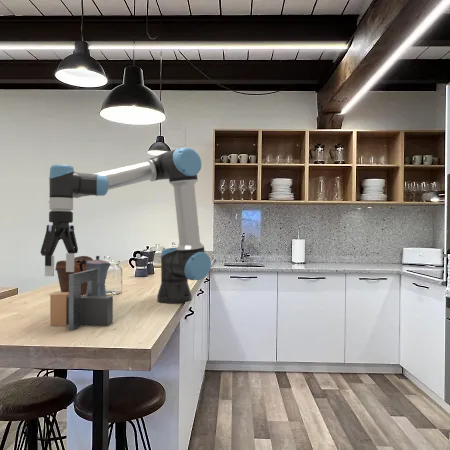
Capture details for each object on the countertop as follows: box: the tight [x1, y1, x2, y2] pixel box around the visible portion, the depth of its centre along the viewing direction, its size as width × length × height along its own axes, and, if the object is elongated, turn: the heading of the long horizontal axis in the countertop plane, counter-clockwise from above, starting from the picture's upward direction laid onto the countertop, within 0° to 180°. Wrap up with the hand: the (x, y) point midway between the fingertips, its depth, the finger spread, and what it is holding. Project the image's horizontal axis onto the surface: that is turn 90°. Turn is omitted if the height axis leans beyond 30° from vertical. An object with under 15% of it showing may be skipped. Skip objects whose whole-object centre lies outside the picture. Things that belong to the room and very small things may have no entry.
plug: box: [49, 291, 114, 327], centre depth 138 cm, size 20×6×10 cm, turn 83°
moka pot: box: [79, 255, 112, 296], centre depth 178 cm, size 10×15×20 cm, turn 78°
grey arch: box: [68, 269, 98, 332], centre depth 138 cm, size 2×18×18 cm, turn 173°
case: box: [54, 255, 94, 296], centre depth 201 cm, size 18×20×18 cm
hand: (60, 274), depth 139 cm, fingers open, 13 cm apart
